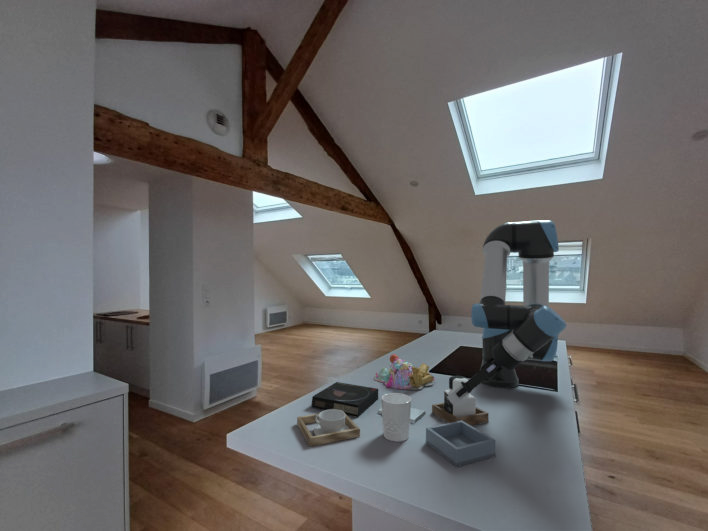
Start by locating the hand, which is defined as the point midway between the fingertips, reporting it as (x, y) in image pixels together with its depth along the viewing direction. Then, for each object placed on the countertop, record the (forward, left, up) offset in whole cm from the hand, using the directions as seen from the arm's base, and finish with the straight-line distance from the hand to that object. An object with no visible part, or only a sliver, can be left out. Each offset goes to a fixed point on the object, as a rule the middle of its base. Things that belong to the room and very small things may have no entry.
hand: (458, 394), depth 100 cm
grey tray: (+12, +15, -7) cm, 20 cm away
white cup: (+23, +3, -7) cm, 25 cm away
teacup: (+38, -6, -7) cm, 40 cm away
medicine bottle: (-1, 0, -7) cm, 7 cm away
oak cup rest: (+39, -7, -7) cm, 41 cm away
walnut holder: (-1, 0, -7) cm, 7 cm away
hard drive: (+14, -9, -8) cm, 19 cm away
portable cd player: (+27, -23, -8) cm, 37 cm away
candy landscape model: (-4, -37, -8) cm, 38 cm away
